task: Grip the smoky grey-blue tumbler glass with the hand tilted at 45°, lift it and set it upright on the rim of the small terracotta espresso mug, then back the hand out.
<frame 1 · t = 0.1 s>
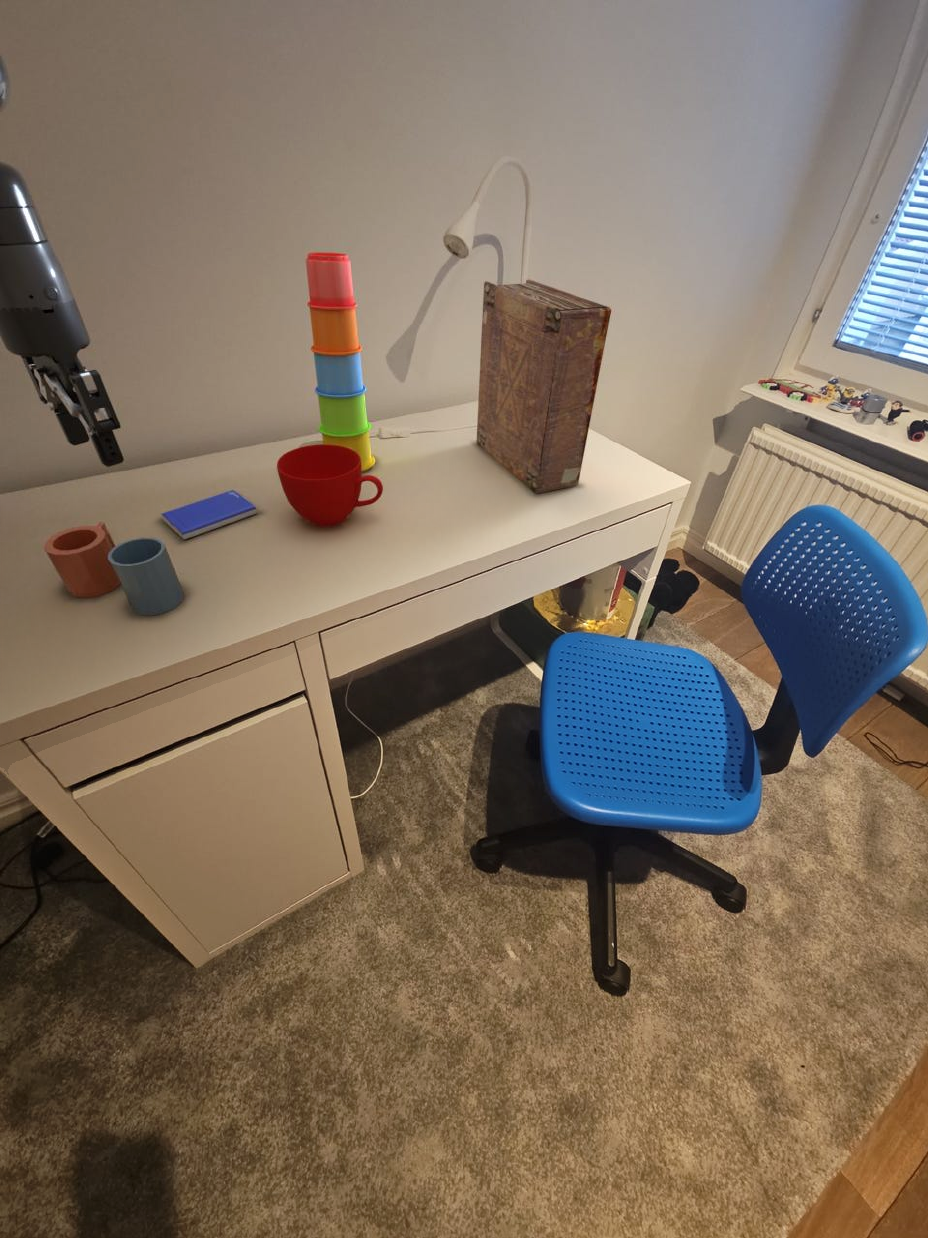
hand: (96, 453, 64), 19 cm above the table, tool pointing down, fingers open, 8 cm apart
ceramic cup: (338, 520, 91), on the table
hard drive: (211, 518, 90), on the table
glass: (158, 600, 73), on the table
book: (523, 463, 109), on the table
stacking cups: (349, 465, 106), on the table
mug: (96, 582, 76), on the table
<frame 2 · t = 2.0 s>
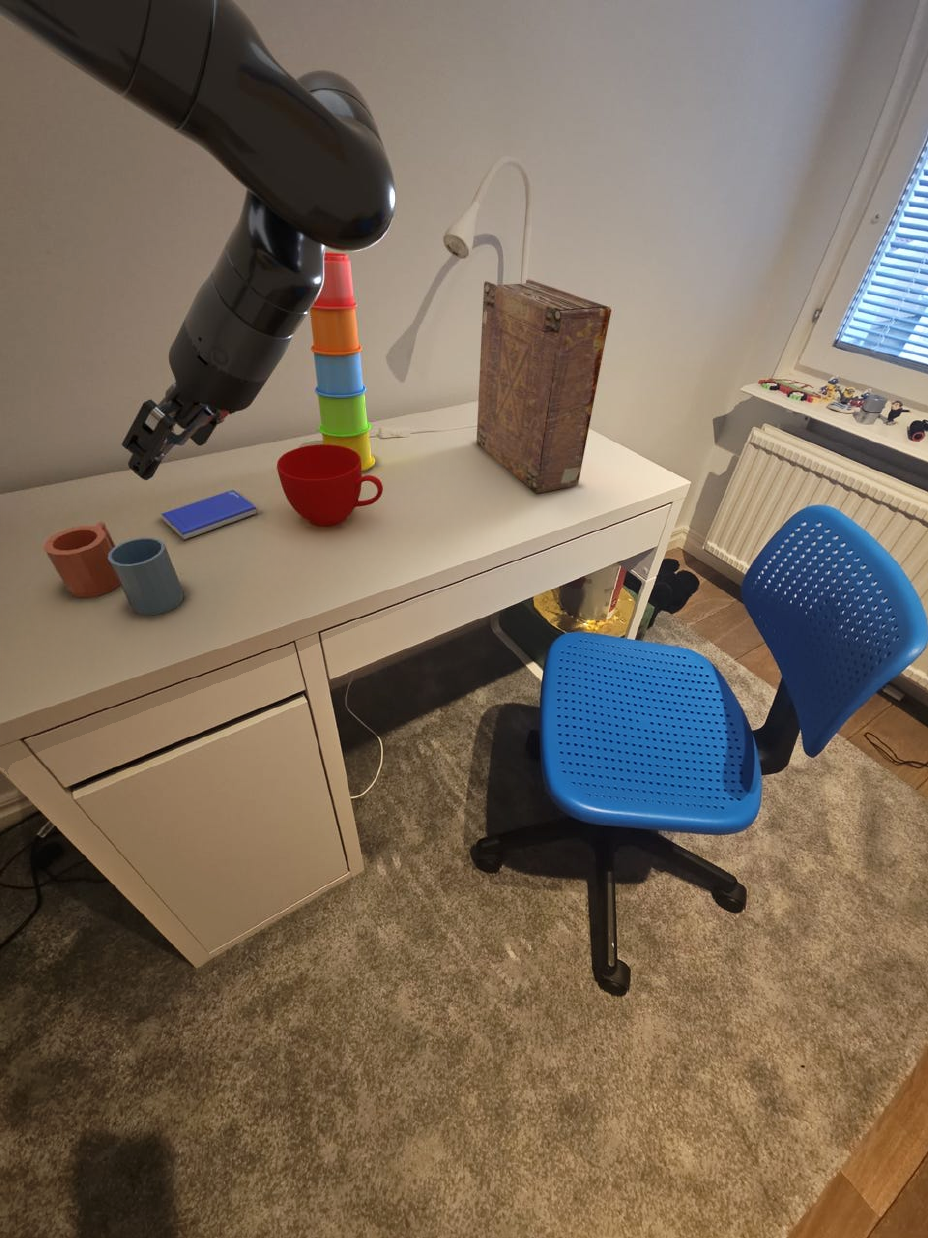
hand: (167, 454, 56), 22 cm above the table, tool tilted 45°, fingers open, 8 cm apart
nothing on the table moved.
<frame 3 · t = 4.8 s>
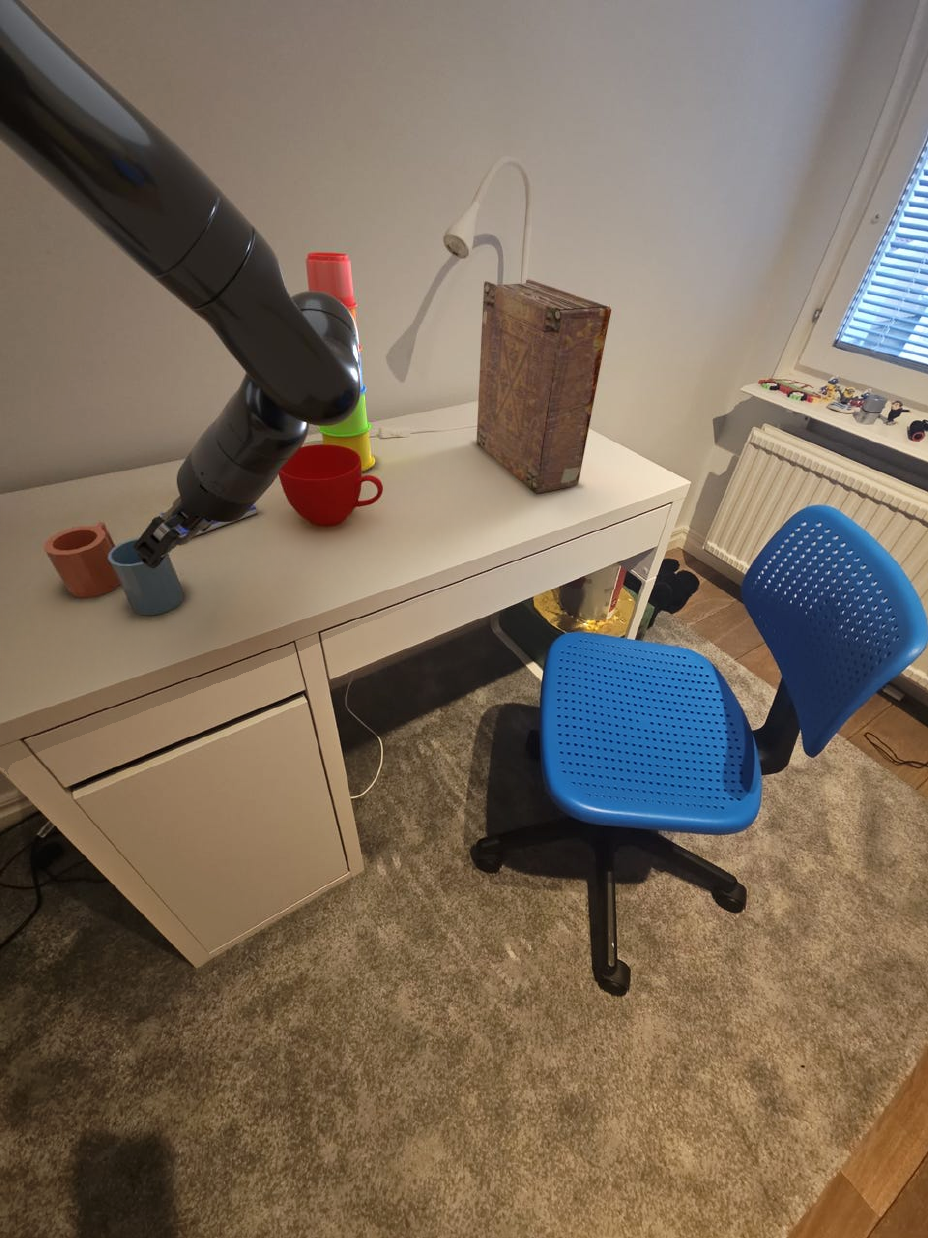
hand: (173, 542, 64), 11 cm above the table, tool tilted 45°, fingers open, 8 cm apart
nothing on the table moved.
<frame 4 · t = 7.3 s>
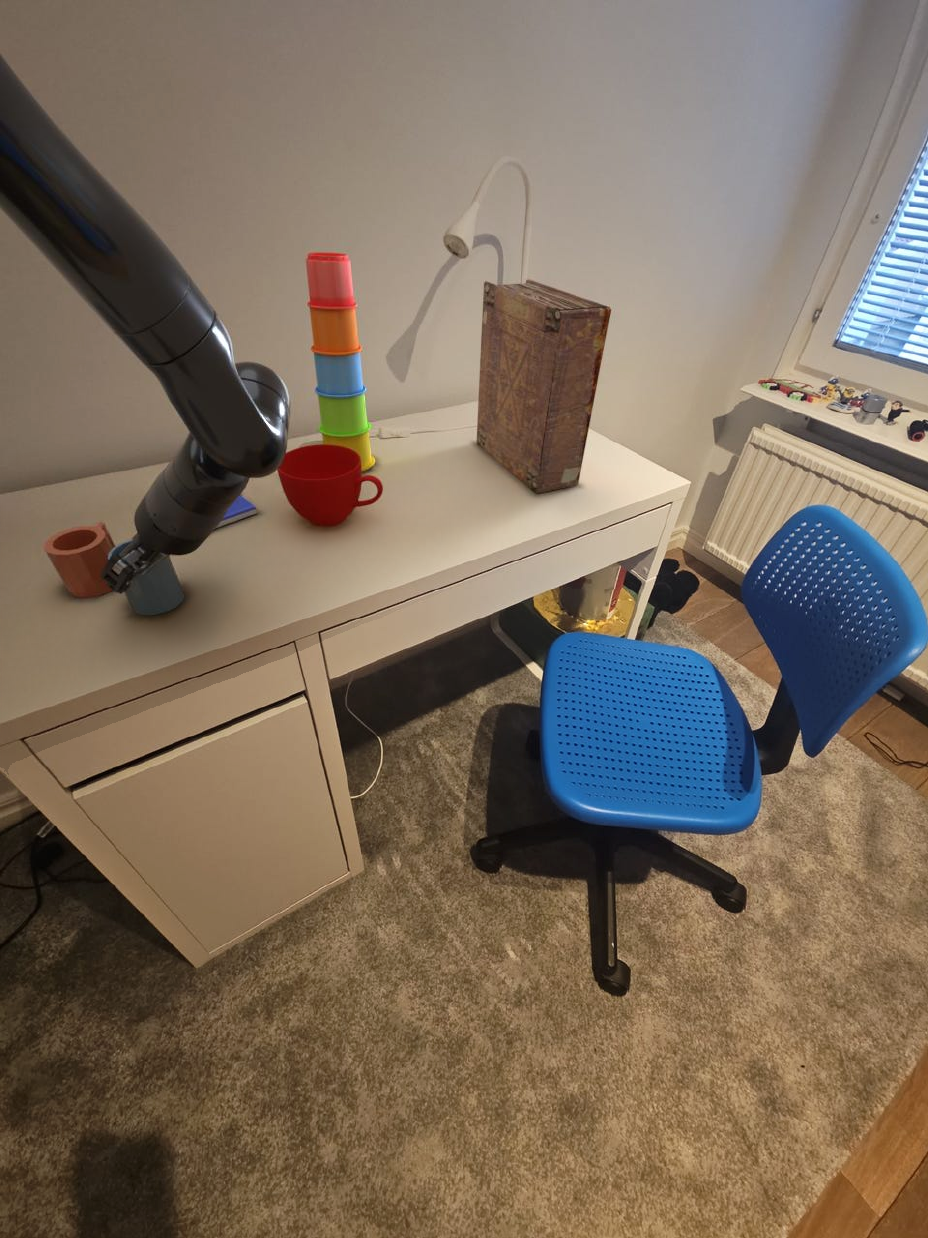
hand: (136, 571, 70), 4 cm above the table, tool tilted 45°, fingers closed on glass, 6 cm apart
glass: (158, 600, 73), on the table, touching gripper
everything else where it was.
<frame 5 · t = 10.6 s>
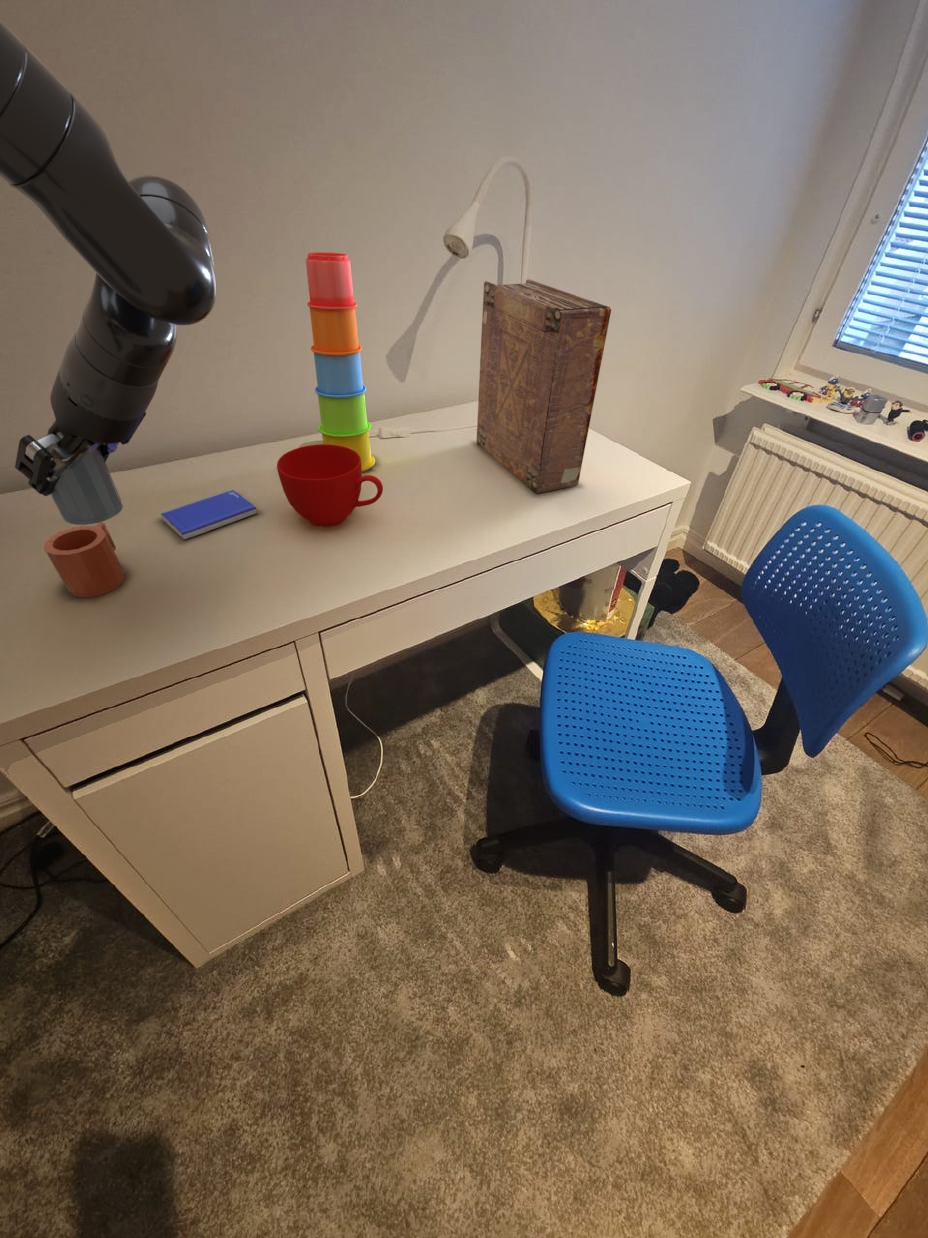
hand: (66, 475, 63), 17 cm above the table, tool tilted 45°, fingers closed on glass, 6 cm apart
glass: (93, 511, 66), point 13 cm above the table, touching gripper
everything else where it was.
when the fingers open (11 cm above the table, at t = 13.9 s): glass stays where it is, resting on mug.
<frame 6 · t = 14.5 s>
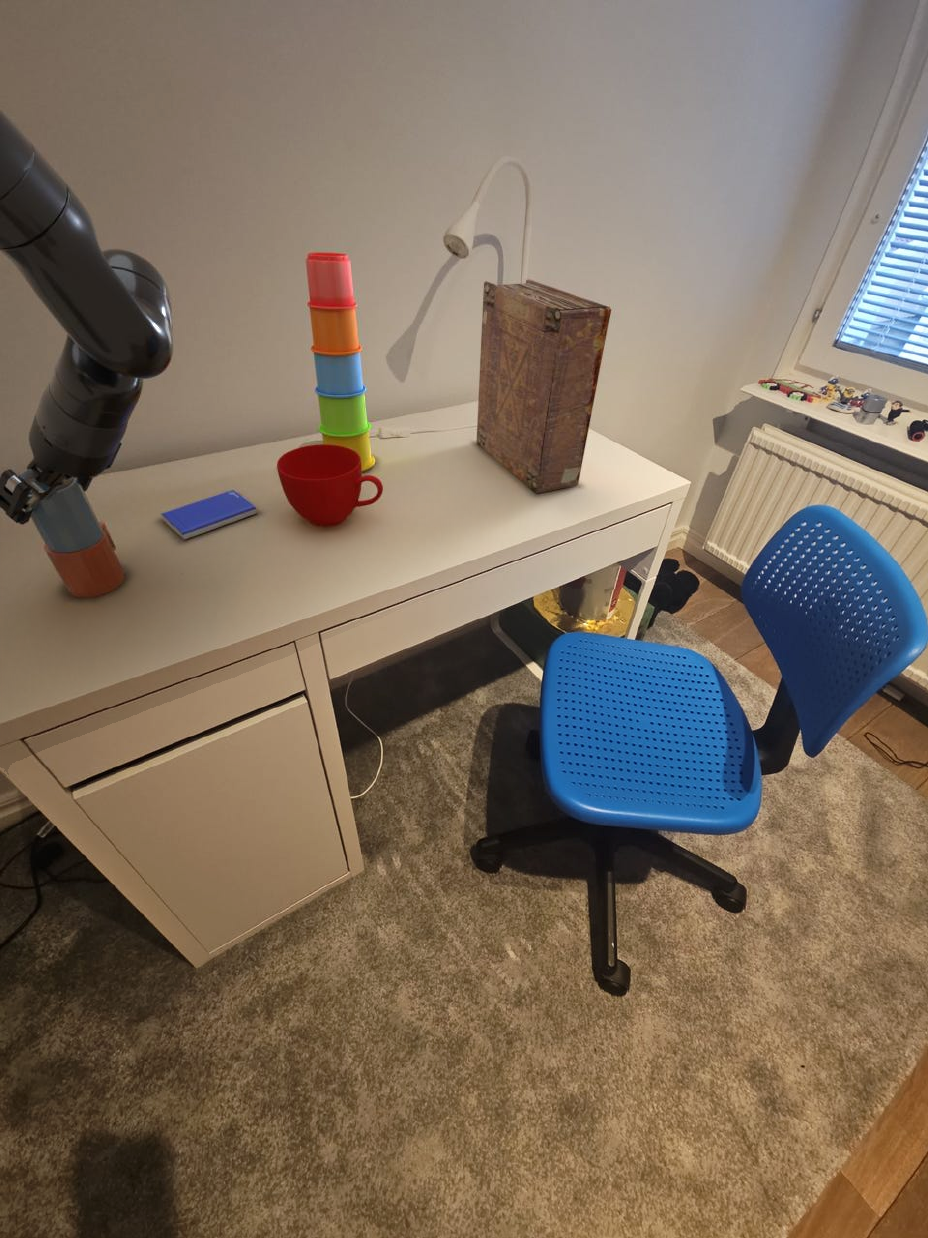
hand: (47, 501, 68), 12 cm above the table, tool tilted 45°, fingers open, 8 cm apart
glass: (75, 539, 71), point 7 cm above the table, touching mug
everything else where it was.
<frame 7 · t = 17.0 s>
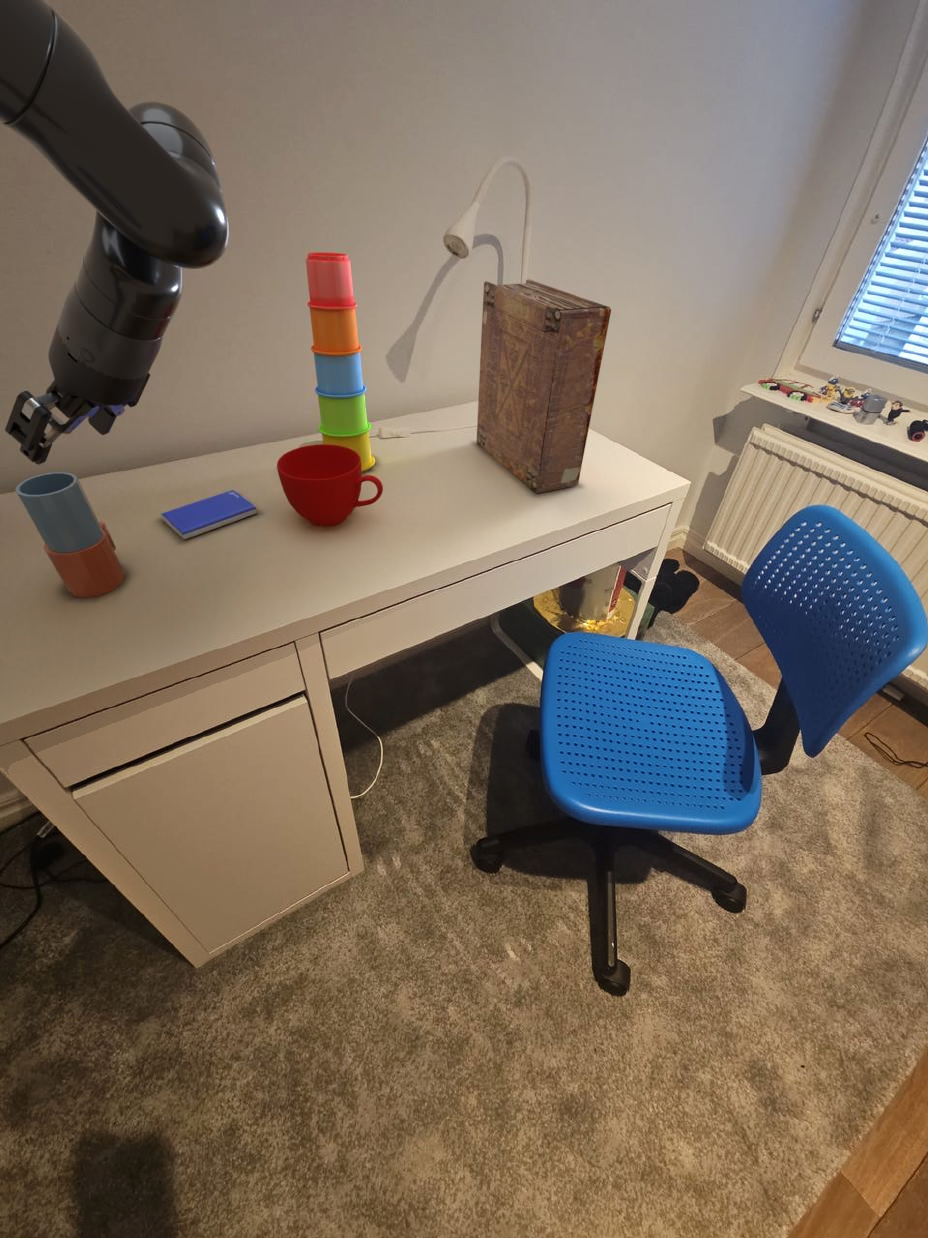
hand: (66, 441, 60), 21 cm above the table, tool tilted 45°, fingers open, 8 cm apart
nothing on the table moved.
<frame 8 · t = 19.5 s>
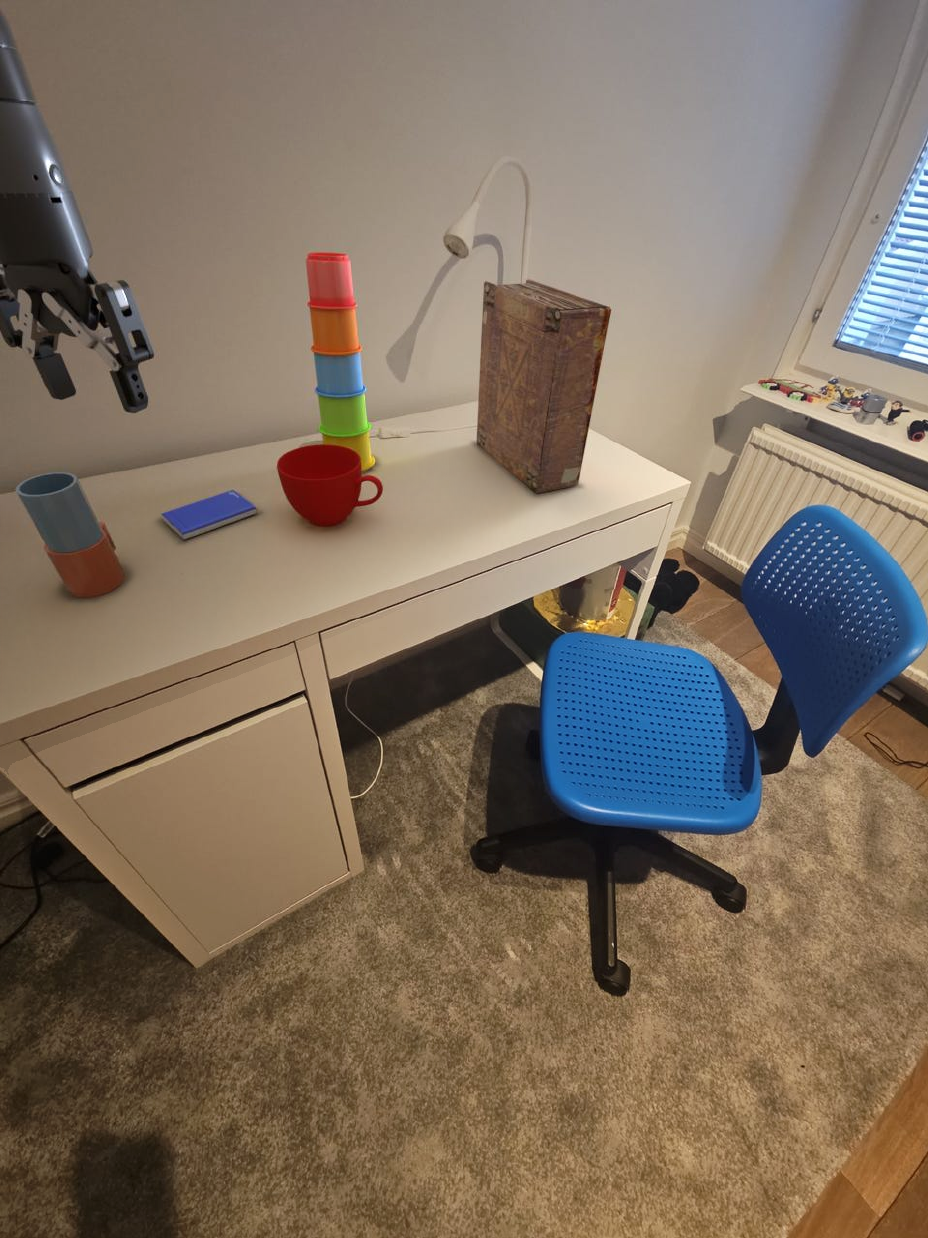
hand: (101, 403, 51), 28 cm above the table, tool pointing down, fingers open, 8 cm apart
nothing on the table moved.
at the end: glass 0.1 cm off-centre on the mug, point 7.0 cm above the mug's base; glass tilted 0°; the gripper is holding nothing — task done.
